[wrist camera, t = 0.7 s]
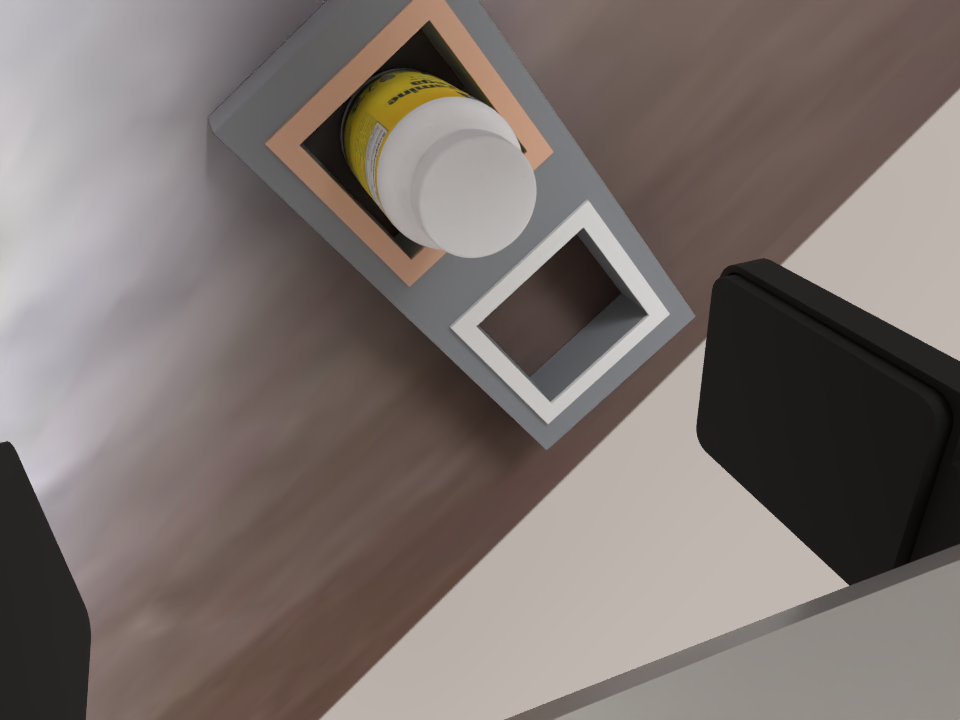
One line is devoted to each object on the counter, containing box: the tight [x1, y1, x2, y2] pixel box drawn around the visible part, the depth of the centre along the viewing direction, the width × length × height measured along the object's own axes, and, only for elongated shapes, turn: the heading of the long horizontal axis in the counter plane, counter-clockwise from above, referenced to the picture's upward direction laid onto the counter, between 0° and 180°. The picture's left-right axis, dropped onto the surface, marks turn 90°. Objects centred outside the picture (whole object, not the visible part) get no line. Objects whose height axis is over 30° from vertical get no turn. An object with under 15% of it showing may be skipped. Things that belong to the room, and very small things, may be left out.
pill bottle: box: [341, 68, 537, 258], centre depth 33 cm, size 6×6×11 cm
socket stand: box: [208, 0, 695, 450], centre depth 40 cm, size 12×26×3 cm, turn 39°
